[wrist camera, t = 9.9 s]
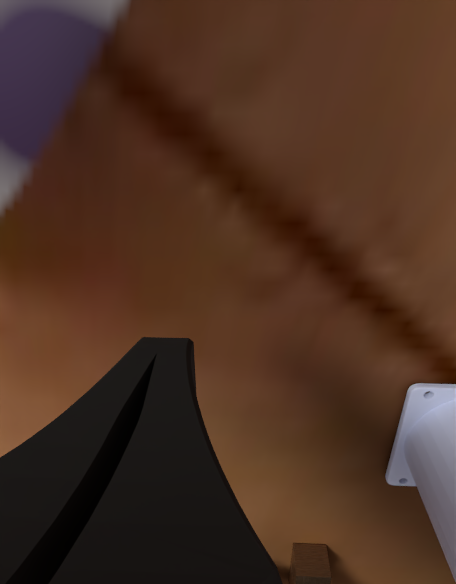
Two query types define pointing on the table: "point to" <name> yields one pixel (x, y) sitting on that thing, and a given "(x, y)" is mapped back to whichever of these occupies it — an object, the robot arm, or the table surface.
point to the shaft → (309, 564)
